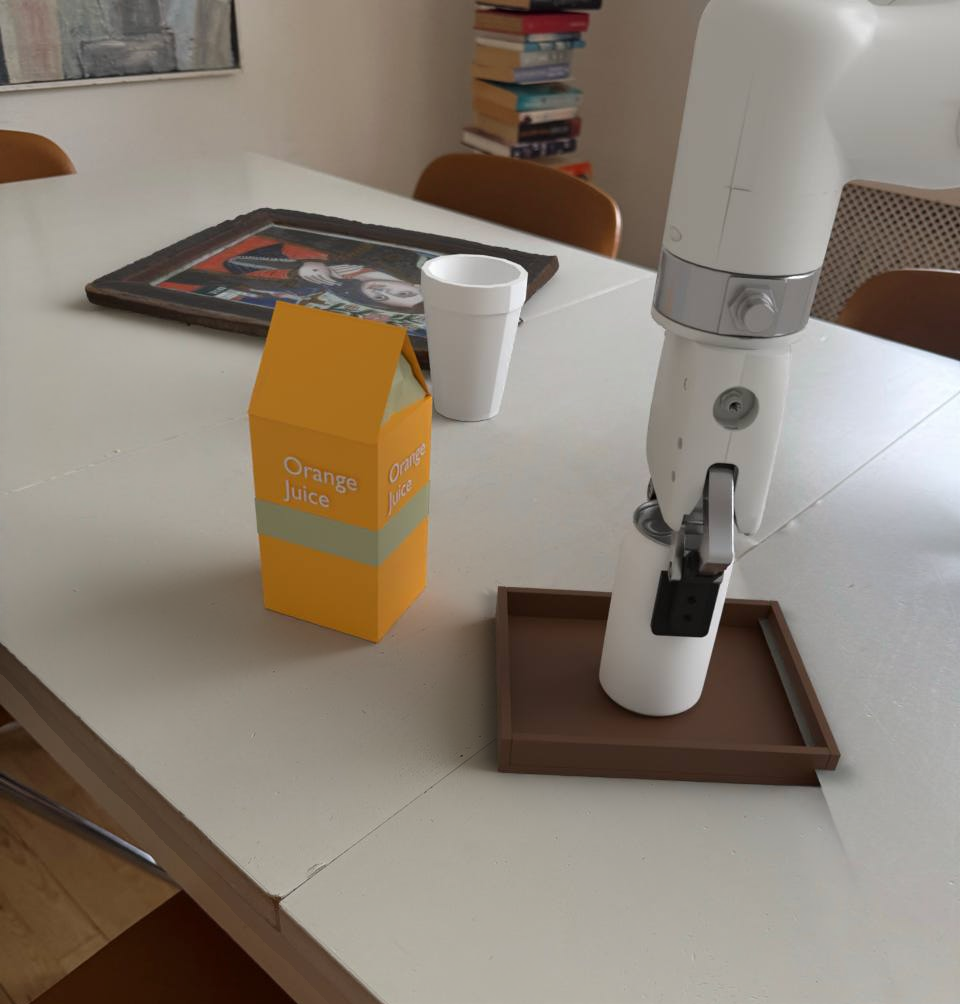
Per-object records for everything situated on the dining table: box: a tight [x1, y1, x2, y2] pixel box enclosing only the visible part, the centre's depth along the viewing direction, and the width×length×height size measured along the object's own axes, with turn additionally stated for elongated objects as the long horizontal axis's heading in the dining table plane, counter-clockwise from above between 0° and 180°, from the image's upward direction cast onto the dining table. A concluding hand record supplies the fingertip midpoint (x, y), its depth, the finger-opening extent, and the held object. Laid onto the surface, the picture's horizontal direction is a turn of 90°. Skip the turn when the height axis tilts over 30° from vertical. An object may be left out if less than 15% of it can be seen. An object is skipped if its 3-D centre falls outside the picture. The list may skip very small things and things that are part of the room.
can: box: [599, 499, 736, 717], centre depth 59 cm, size 6×6×12 cm
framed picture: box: [84, 206, 560, 372], centre depth 120 cm, size 40×45×3 cm
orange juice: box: [246, 300, 433, 644], centre depth 64 cm, size 8×9×20 cm
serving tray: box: [494, 585, 842, 788], centre depth 63 cm, size 19×15×3 cm
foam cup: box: [421, 254, 528, 422], centre depth 93 cm, size 10×9×13 cm
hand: (669, 594), depth 59 cm, fingers closed on can, 6 cm apart
